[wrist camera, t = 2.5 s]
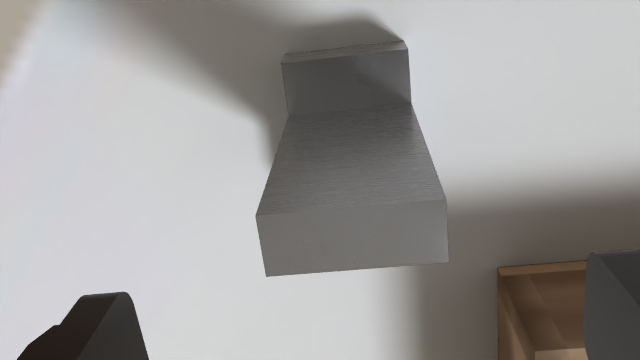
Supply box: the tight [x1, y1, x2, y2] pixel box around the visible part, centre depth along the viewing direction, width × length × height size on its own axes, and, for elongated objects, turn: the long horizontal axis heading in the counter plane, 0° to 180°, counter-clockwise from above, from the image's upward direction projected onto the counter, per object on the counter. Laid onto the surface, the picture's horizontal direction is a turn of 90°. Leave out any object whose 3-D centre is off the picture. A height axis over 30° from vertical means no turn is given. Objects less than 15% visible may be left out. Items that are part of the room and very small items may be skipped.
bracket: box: [256, 41, 449, 277], centre depth 17 cm, size 5×4×9 cm
